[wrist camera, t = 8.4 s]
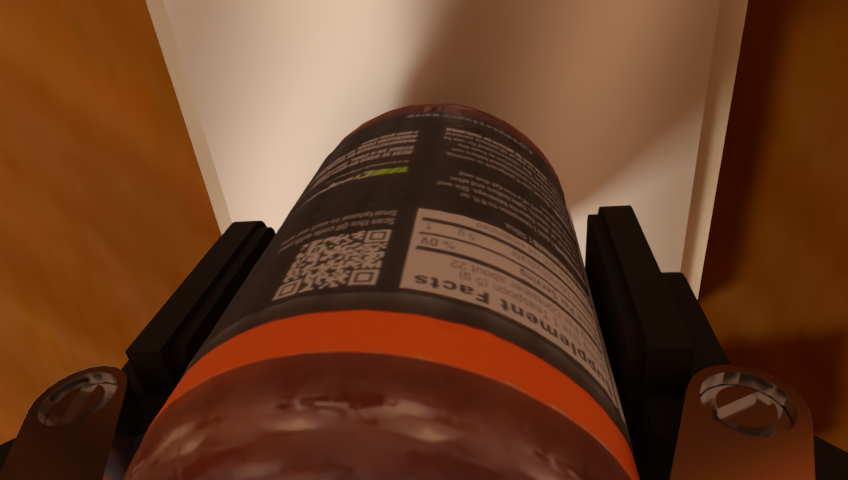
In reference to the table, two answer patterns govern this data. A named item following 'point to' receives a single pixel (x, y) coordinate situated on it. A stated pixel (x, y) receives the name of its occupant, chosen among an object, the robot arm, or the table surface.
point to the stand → (466, 95)
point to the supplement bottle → (407, 326)
